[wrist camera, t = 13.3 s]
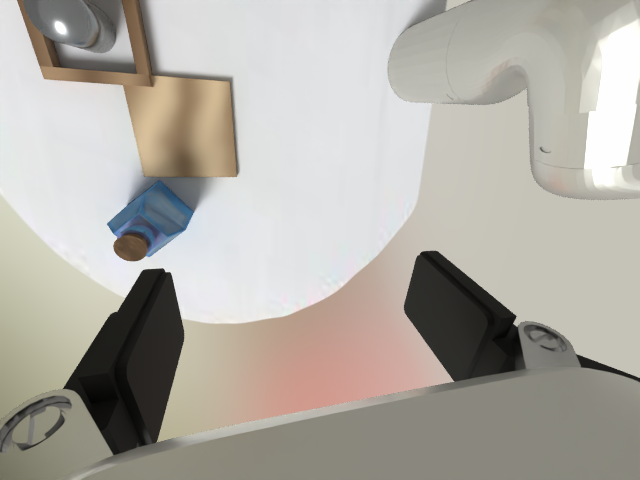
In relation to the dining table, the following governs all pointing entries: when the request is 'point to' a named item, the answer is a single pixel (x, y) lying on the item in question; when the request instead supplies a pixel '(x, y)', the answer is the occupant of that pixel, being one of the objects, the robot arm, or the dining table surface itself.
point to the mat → (183, 127)
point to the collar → (54, 71)
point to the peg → (72, 23)
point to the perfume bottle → (149, 223)
